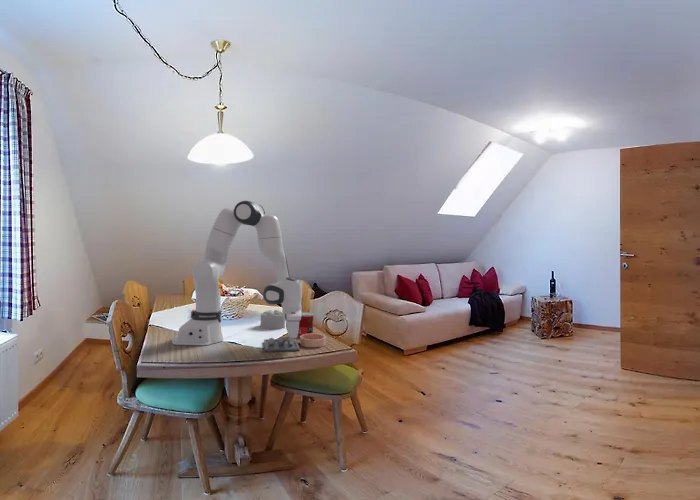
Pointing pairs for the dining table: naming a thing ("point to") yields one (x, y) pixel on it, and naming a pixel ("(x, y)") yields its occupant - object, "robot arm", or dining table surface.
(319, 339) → the bowl
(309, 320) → the canned food
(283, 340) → the pebble
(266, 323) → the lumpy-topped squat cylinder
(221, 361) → the dining table surface
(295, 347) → the tray
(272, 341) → the pebble
